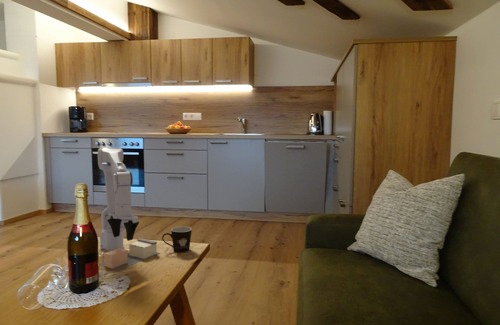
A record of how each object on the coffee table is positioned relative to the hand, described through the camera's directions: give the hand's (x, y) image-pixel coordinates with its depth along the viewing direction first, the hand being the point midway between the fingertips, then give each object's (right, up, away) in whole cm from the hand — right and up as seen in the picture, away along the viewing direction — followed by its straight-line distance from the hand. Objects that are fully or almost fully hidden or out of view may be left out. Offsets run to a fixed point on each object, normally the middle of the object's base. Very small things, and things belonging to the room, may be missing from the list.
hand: (123, 238), depth 135 cm
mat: (+2, -10, +3) cm, 11 cm away
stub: (-1, -9, -3) cm, 10 cm away
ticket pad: (+5, -8, +8) cm, 13 cm away
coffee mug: (+18, -9, +15) cm, 25 cm away
